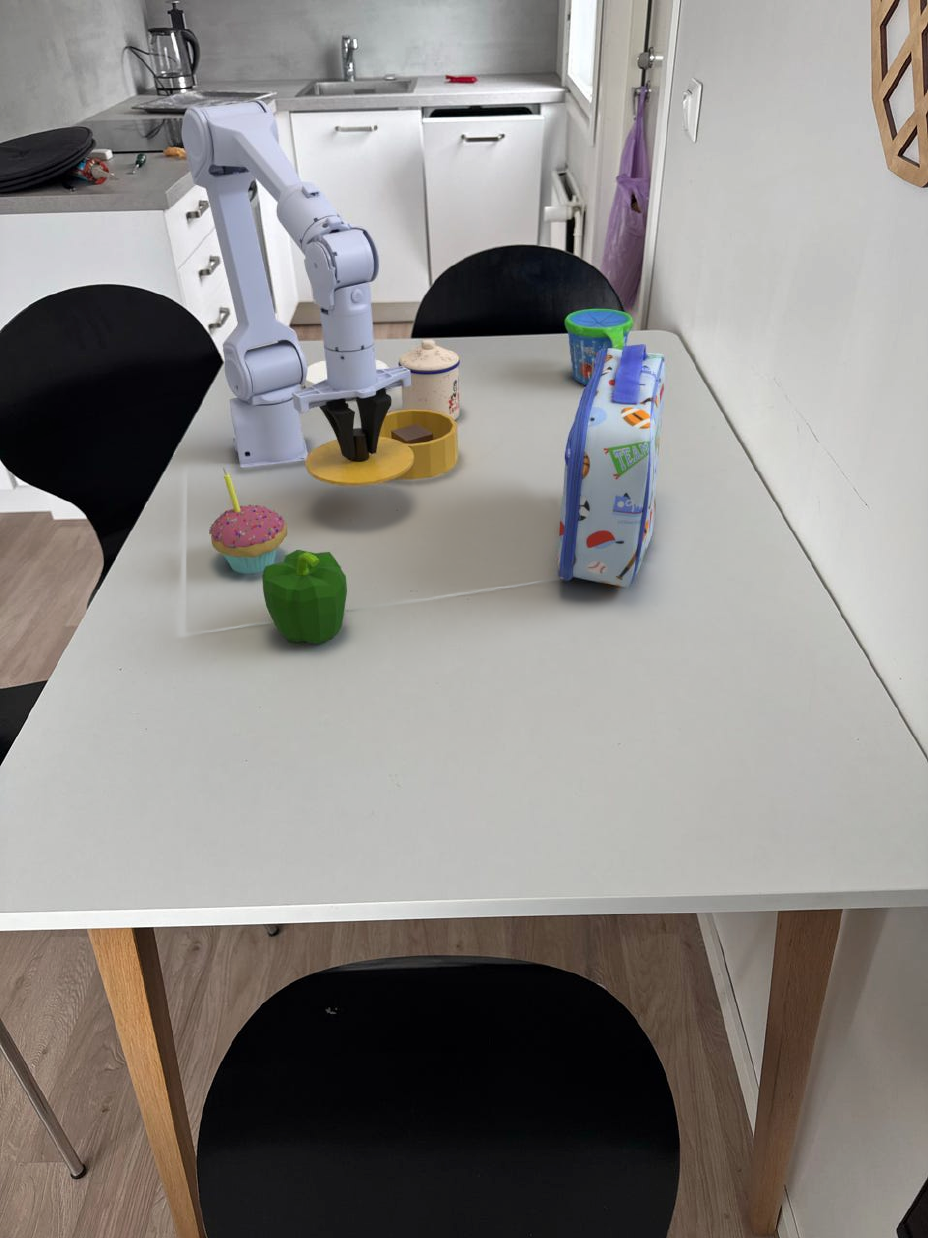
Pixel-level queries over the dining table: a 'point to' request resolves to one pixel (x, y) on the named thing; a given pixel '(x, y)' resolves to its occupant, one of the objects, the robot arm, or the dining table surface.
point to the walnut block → (412, 434)
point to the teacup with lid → (432, 379)
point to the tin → (430, 454)
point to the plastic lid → (319, 372)
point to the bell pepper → (306, 596)
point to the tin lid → (360, 461)
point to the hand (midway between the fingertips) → (359, 453)
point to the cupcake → (247, 534)
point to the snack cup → (594, 337)
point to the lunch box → (612, 468)
